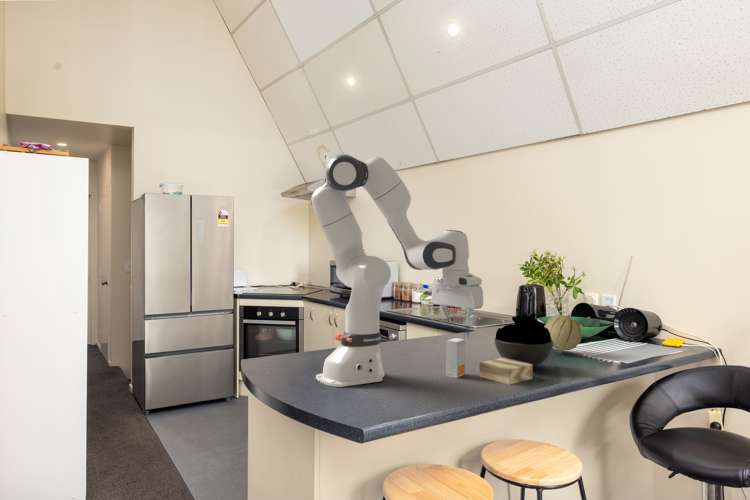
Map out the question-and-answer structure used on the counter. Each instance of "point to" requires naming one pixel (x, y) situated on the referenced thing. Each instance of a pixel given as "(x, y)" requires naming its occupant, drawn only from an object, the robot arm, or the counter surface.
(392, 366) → the counter surface
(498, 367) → the maple block
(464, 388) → the counter surface
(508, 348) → the bowl of black rocks
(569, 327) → the cantaloupe
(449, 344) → the skincare box
